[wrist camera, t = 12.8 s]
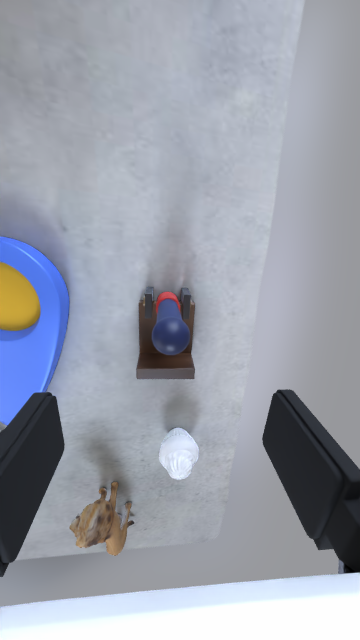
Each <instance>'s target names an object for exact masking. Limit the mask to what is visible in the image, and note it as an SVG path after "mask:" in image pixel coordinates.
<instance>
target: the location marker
mask: <svg viewBox="0 0 360 640" xmlns="http://www.w3.org/2000/svg"><path fill="white" fill-rule="evenodd" d="M68 315H69V296H68V291H67V287H66V285H65V282H64V280H63V278H62V276H61V274H60V273H59V271H58V270H57V268H56V267H55V266H54V265H53V263H52V262H51V261H50V260H49V259H48V258H47V257H45V256H44V255H43V254H42V253H41V252H39V251H38V250H36V249H35V248H33V247H32V246H30V245H28V244H26V243H23V242H21V241H18V240H15V239H12V238H8V237H1V236H0V422H2V423H3V424H5V425H8V424H9V423H10V422H11V421H12V419H13V418H14V417H15V416H16V414H17V413H18V412H19V411H20V409H21V408H22V407H23V406H24V404H25V403H26V402H27V401H28V399H29V398H30V397H31V395H32V394H33V393H35V392H46V390H47V388H48V386H49V383H50V381H51V379H52V376H53V374H54V371H55V368H56V366H57V363H58V360H59V357H60V353H61V350H62V346H63V342H64V338H65V334H66V329H67V323H68Z"/></svg>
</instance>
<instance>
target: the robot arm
mask: <svg viewBox="0 0 360 640" xmlns="http://www.w3.org/2000/svg"><path fill="white" fill-rule="evenodd" d="M262 440H263V445H264V447H265V450H266V452H267V454H268V456H269V458H270V460H271V462H272V464H273V466H274V468H275V470H276V472H277V474H278V476H279V478H280V480H281V482H282V484H283V486H284V488H285V491H286V492H287V495H288V497H289V499H290V501H291V503H292V505H293V507H294V509H295V511H296V513H297V515H298V517H299V519H300V521H301V523H302V525H303V527H304V530H305V531H306V533H307V535H308V536H309V537H310V538H311V539H313V540H314V542H315V544H316V546H317V548H318V550H325V549H334V551H335V553H336V555H337V556H338V558H339V571H338V574H331V575H316V576H304V577H293V578H281V579H270V580H260V581H247V582H236V583H227V584H215V585H204V586H194V587H184V588H174V589H163V590H152V591H142V592H131V593H122V594H112V595H102V596H93V597H83V598H73V599H63V600H53V601H42V602H35V603H26V604H19V605H10V606H2V607H0V640H360V469H359V468H358V467H357V466H356V465H355V464H354V462H353V461H352V460H351V459H350V458H349V456H348V455H347V454H346V453H345V452H344V450H343V449H342V448H341V447H340V446H339V445H338V443H337V442H336V441H335V440H334V439H333V437H332V436H331V435H330V434H329V433H328V432H327V430H326V429H325V428H324V427H323V426H322V424H321V423H320V422H319V421H318V420H317V419H316V417H315V416H314V415H313V414H312V413H311V411H310V410H309V409H308V408H307V407H306V406H305V405H304V403H303V402H302V401H301V400H300V399H299V397H298V396H297V395H296V394H295V393H294V391H292V390H277V392H276V393H274V394H273V396H272V400H271V405H270V409H269V413H268V417H267V421H266V425H265V429H264V433H263V438H262ZM63 451H64V439H63V433H62V427H61V422H60V416H59V410H58V405H57V399H56V397H55V396H52V394H51V393H50V392H35V393H33V394H32V395H31V397H30V398H29V399H28V401H27V402H26V403H25V404H24V406H23V407H22V408H21V409H20V411H19V412H18V413H17V414H16V416H15V417H14V418H13V419H12V421H11V422H10V423H9V424H8V426H7V427H6V428H5V429H4V430H2V431H1V432H0V577H3V575H4V573H5V571H6V569H7V567H8V564H9V563H11V562H13V561H14V560H15V559H16V557H17V555H18V553H19V551H20V549H21V547H22V545H23V542H24V540H25V538H26V535H27V533H28V531H29V529H30V526H31V524H32V522H33V520H34V517H35V515H36V513H37V511H38V508H39V506H40V504H41V502H42V499H43V497H44V495H45V493H46V490H47V488H48V486H49V484H50V481H51V479H52V477H53V475H54V472H55V470H56V468H57V465H58V463H59V461H60V459H61V456H62V454H63Z"/></svg>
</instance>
